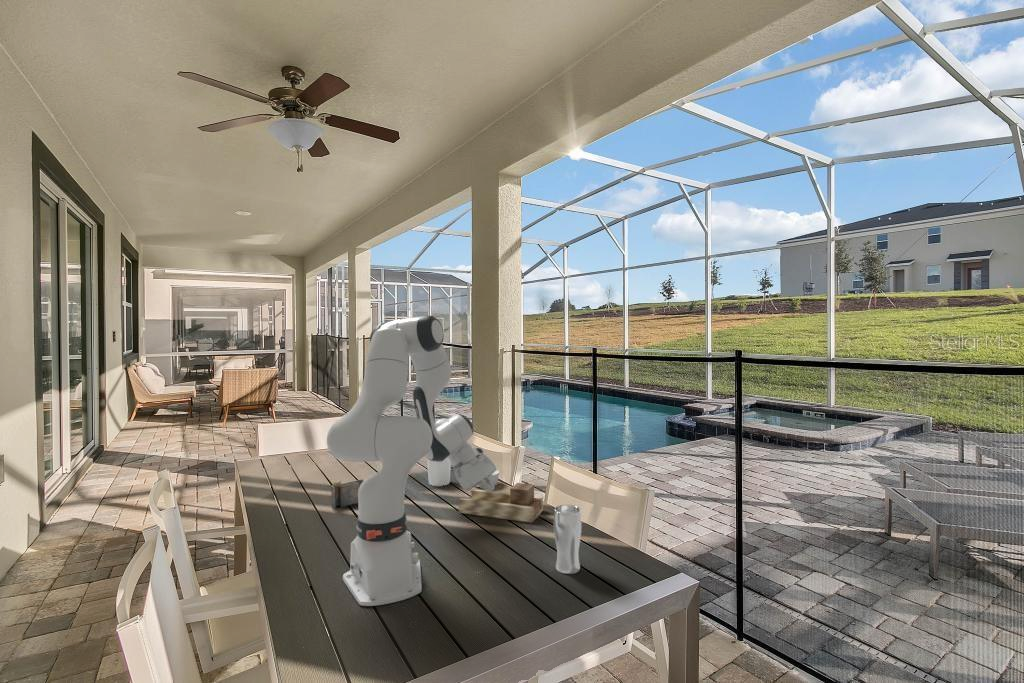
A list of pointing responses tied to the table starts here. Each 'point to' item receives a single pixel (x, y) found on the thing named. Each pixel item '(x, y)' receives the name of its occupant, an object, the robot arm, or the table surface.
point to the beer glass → (567, 537)
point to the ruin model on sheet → (345, 493)
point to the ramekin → (493, 478)
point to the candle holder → (439, 472)
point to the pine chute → (499, 506)
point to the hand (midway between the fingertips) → (491, 490)
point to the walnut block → (522, 494)
